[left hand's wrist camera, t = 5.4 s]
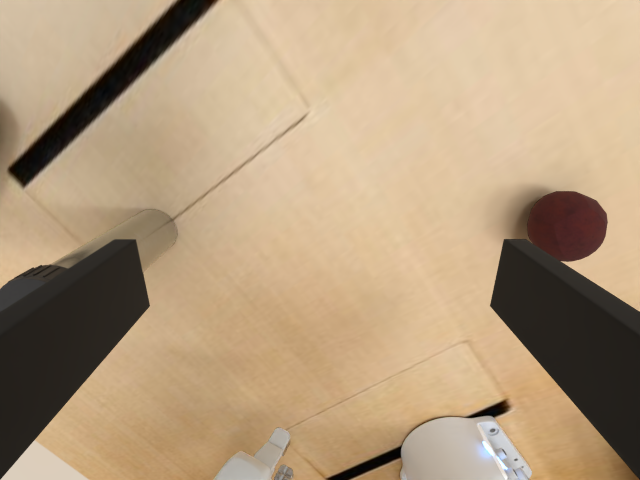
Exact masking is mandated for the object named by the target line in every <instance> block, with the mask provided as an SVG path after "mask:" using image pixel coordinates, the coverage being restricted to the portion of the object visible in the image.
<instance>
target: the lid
mask: <svg viewBox="0 0 640 480" xmlns="http://www.w3.org/2000/svg"><path fill="white" fill-rule="evenodd" d="M67 269H68V268H65V267H62V266H57V265H44V266H42V265H40V266H38V267H36V268H34V267H33V268H31V269H29V270H28V271H26V272H24V273H22V274H20V275H19V276H17V277H15V278H14V279H12V280H10V281H9V282H8V283H7V284H5V285H4V286H3V287H2V288H1V289H0V312H1V311H2V310H4V309H6V308H7V307H9V306H10V305H12V304H13V303H15V302H17V301H18V300H20V299H21V298H23V297H24V296H26V295H28V294H29V293H31V292H32V291H34V290H35V289H37V288H39V287H40V286H42V285H43V284H45V283H46V282H48V281H50V280H51V279H53V278H54V277H56V276H57V275H59V274H61V273H62V272H64V271H65V270H67Z"/></svg>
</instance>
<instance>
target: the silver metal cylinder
mask: <svg viewBox="0 0 640 480" xmlns="http://www.w3.org/2000/svg"><path fill="white" fill-rule="evenodd" d="M114 239H136V242H137V246H138V251H139V256H140V261H141V266H142V271H143V272H144V271H145V270H146V269H147V268H149V267H150V266H151V265H152V264H153V263H154V262H155V261H156V260H157V259H158V258H159V257H160V256H161V255H163V254H164V253H165V252H166V251H167V250H168V249H169V248H170V247H171V246H172V245H173V244H174V243H175V241H176V239H177V228H176V225H175V223H174V222H173V220H172V219H171V218H170V217H169V216H168V215H167V214H165V213H164V212H161V211H159V210H154V209H148V210H144V211H142V212H140V213H138V214H136V215H135V216H133V217H131V218H130V219H128V220H126V221H124V222H123V223H121V224H119V225H117V226H116V227H114V228H112V229H111V230H109V231H107V232H105V233H104V234H102V235H100V236H98V237H97V238H95V239H93V240H91V241H90V242H88V243H86V244H85V245H83V246H81V247H79V248H78V249H76V250H74V251H72V252H71V253H69V254H67V255H66V256H64V257H62V258H60V259H59V260H57V261H55V262H53V263H52V264H50V265H57V266H62V267H65V268H70V267H72V266H73V265H75V264H76V263H78V262H79V261H81V260H83V259H84V258H86V257H87V256H89V255H90V254H92V253H94V252H95V251H97V250H98V249H100V248H101V247H103V246H105V245H106V244H108V243H109V242H111V241H112V240H114Z"/></svg>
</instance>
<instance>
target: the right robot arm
mask: <svg viewBox="0 0 640 480" xmlns="http://www.w3.org/2000/svg"><path fill="white" fill-rule="evenodd" d="M289 445H290V434H289V432H287V431H286V430H284V429H282V428H279V427H278V428H276V429H275V430H274V432H273V434H272V435H271V437H270V439H269V440H268V442H266V443H265V444H264V445H263V446H262V447H261V448H260V449H259V450H258V451H257V452H256V454H255V455H254V457H252V456H250V455H249V454H247V453H245V452H243V451H239V452H237V453H236V454H235V455H233V456H232V457H231V458H230V459H229V460H228V461H227V462H226V463H225V464H224V465H223V467H222V468H221V470H220V471H219V472H218V474H217V475H216V477H215V478H214V479H213V480H272V478H271V476H272V474H273V472H274V470H275V468H274V467H275V466H276V464H277V462H278V461H279V459H280V457H281V456H284V454H285V452H286V450H287V448H288V446H289ZM401 458H402V463H403V467H402V469H401V472H400V478H401V480H530V479H529V478H530V476H531V475H532V471H531V469H530V467H529V465H528V464H527V462H526V461H525V459H524V458H523V457H522V455H521V454H520V453H519V451H518V450H517V448H516V447H515V446H514V444H513V443H512V442H511V440H510V439H509V438H508V436H507V435H506V433H505V432H504V431H503V429H502V428H501V427H500V425H499V424H498V422H497V421H496V420H495V418H493V417H492V416H482V417H476V418H462V417H444V418H439V419H435V420H432V421H429V422H426V423H424V424H422V425H421V426H419V427H417V428H416V429H415V430H413V431H412V432H411V433H410V434H409V435H408V436H407V438H406V439H405V441H404V443H403V445H402V448H401ZM293 477H294V476H293V470H292V469H291V468H289V467H287V466H286V465H281V466H280V468H279V470H278V472H277V473H276V475H275V477H274V480H293Z"/></svg>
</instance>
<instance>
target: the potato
mask: <svg viewBox="0 0 640 480" xmlns="http://www.w3.org/2000/svg"><path fill="white" fill-rule="evenodd" d="M607 223H608V222H607V214H606V212H605V211H604V210H603V208H602V207H601V206H600V205H599V203H598V202H597V201H596V200H594V199H592V198H590V197H587V196H585V195H582V194H580V193H577V192H574V191H556V192H553V193H551V194H548V195H545V196H544V197H542V198H541V199H540V200H539V201H537V202H536V204H535V205H534V207H533V208H532V210H531V213H530V216H529V220H528V224H527V227H528V236H529V238H530V240H531V242H532V243H533V244H534V245H535V246H537V247H539V248H540V249H542V250H543V251H545V252H546V253H548V254H550V255H551V256H553V257H554V258H556V259H557V260H559V261H566V262H569V261H575V260H580V259H583V258H585V257H587V256H589V255H591V254H592V253H593V252H595V251H596V250H597V249H598V248H599V247H600V246H601V244H602V243H603V241H604V238H605V235H606V229H607Z"/></svg>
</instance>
